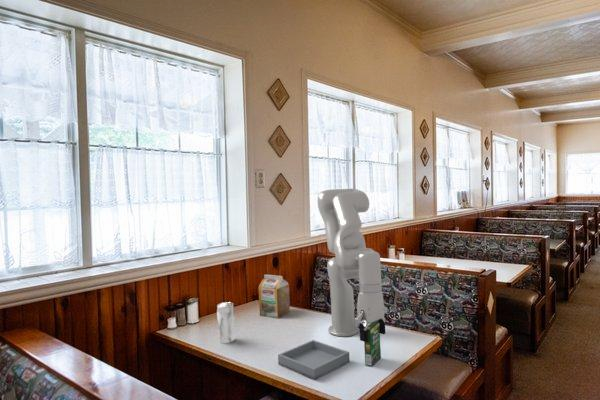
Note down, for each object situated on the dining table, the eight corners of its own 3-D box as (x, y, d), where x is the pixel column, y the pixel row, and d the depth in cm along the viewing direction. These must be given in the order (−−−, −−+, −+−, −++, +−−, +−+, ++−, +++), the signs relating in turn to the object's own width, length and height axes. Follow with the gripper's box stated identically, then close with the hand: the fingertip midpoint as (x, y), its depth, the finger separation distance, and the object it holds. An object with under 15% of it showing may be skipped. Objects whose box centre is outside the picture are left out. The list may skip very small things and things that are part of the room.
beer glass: (239, 338, 171) (237, 302, 170) (229, 344, 165) (227, 307, 164) (225, 336, 174) (223, 301, 173) (215, 342, 167) (213, 306, 167)
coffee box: (372, 367, 139) (370, 329, 138) (364, 365, 140) (362, 327, 140) (381, 358, 146) (380, 321, 145) (374, 357, 147) (372, 320, 147)
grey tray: (313, 348, 157) (313, 339, 157) (349, 362, 144) (349, 352, 144) (278, 364, 145) (277, 354, 144) (314, 380, 132) (313, 369, 132)
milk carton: (290, 312, 203) (288, 273, 202) (277, 318, 194) (276, 278, 193) (272, 309, 208) (270, 272, 208) (259, 315, 199) (257, 276, 199)
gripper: (376, 281, 150) (378, 328, 151) (345, 291, 139) (348, 341, 139) (394, 284, 145) (396, 332, 145) (363, 294, 133) (366, 347, 133)
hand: (372, 337), depth 142 cm, fingers open, 9 cm apart
